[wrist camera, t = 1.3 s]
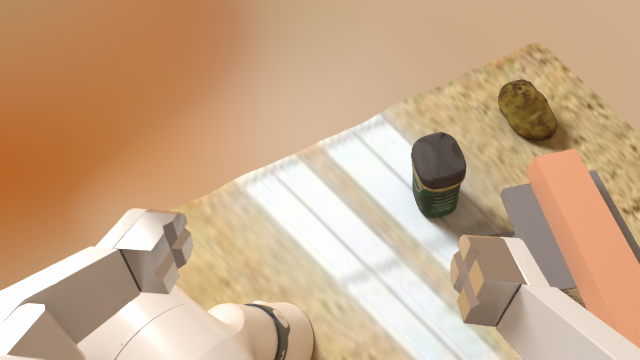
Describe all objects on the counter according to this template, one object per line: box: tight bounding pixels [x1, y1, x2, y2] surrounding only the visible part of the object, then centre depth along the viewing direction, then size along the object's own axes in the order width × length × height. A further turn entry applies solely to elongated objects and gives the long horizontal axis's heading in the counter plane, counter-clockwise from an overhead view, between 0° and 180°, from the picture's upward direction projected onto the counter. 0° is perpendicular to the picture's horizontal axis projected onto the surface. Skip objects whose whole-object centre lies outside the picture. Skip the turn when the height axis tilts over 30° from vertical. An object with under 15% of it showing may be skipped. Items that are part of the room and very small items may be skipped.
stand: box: [490, 170, 640, 290], centre depth 47 cm, size 12×10×26 cm
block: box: [525, 149, 640, 348], centre depth 32 cm, size 22×4×4 cm, turn 6°
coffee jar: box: [411, 132, 466, 218], centre depth 59 cm, size 10×8×19 cm
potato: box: [498, 79, 557, 140], centre depth 66 cm, size 8×13×8 cm, turn 9°
